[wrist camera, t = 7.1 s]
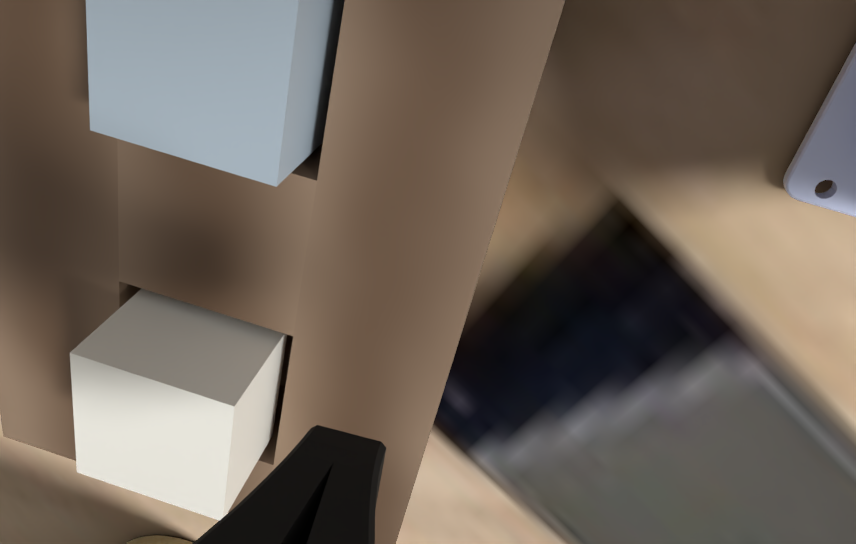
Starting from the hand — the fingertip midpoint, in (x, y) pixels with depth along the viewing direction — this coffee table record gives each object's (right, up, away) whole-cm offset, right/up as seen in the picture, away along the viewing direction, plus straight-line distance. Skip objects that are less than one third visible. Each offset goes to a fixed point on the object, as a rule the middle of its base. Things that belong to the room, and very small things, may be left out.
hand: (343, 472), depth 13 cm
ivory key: (-5, +1, +9) cm, 10 cm away
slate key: (-3, +10, +4) cm, 11 cm away
